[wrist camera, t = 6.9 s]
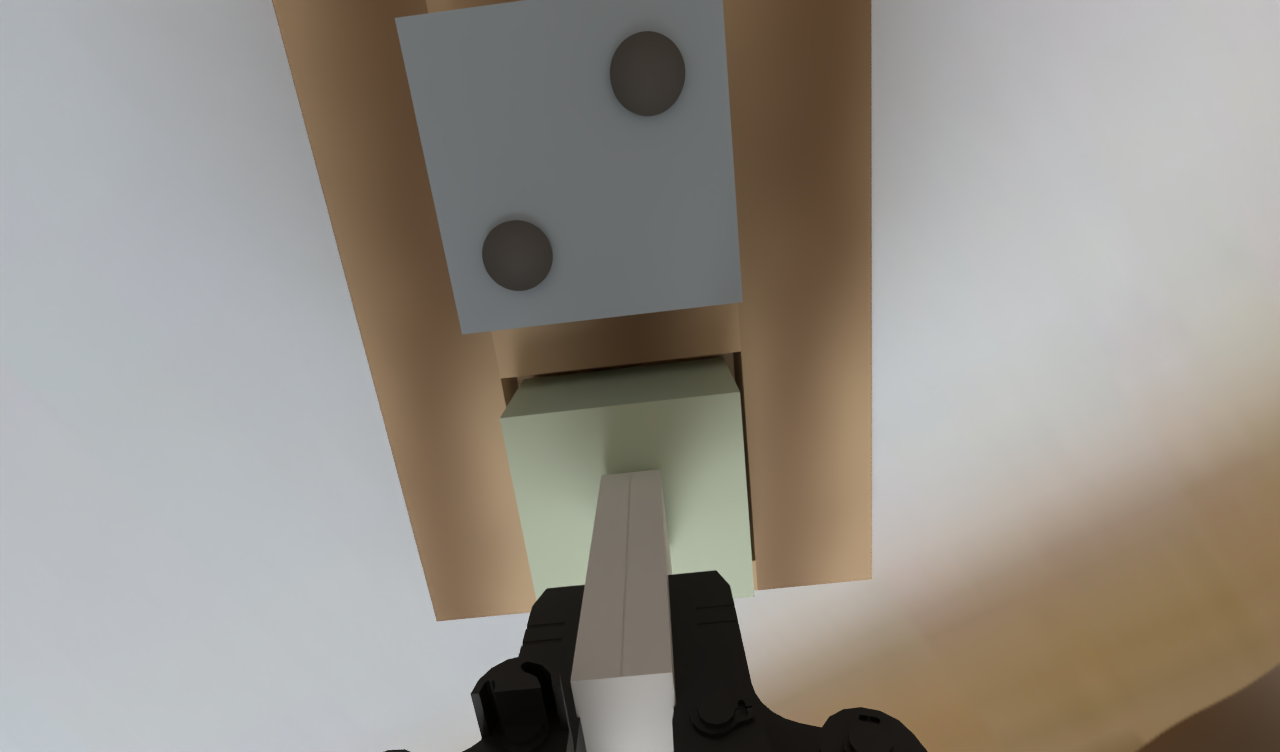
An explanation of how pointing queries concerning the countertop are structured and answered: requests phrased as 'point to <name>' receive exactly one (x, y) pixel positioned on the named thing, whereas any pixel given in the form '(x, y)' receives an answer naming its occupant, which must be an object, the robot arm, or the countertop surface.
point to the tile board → (739, 332)
